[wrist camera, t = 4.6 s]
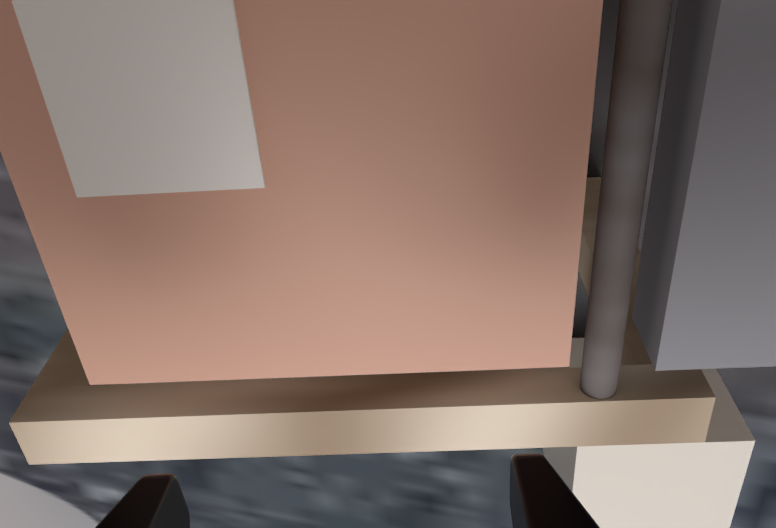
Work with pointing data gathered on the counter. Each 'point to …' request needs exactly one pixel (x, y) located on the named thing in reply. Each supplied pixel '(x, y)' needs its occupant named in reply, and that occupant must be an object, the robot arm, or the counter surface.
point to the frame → (424, 390)
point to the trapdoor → (376, 183)
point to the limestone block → (661, 471)
